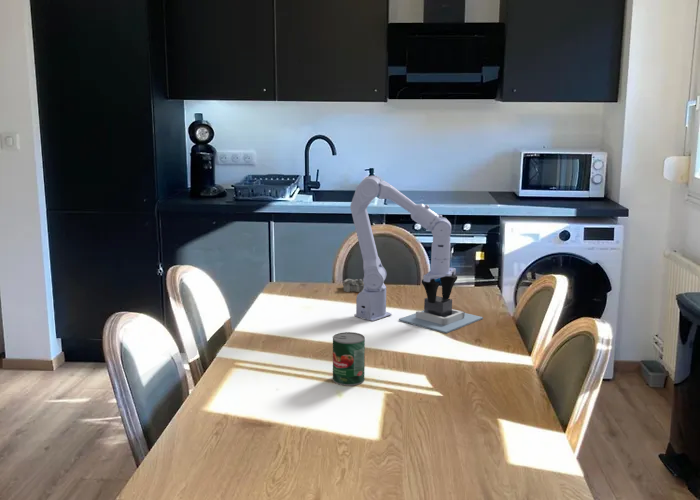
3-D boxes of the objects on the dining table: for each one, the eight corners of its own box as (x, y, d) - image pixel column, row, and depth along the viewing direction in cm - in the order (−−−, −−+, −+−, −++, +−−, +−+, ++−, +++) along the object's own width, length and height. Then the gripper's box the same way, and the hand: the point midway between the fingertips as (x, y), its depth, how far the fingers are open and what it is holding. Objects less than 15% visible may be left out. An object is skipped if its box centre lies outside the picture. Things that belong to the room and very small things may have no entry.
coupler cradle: (446, 333, 213) (446, 325, 213) (398, 320, 225) (398, 312, 224) (482, 318, 228) (483, 311, 227) (436, 307, 239) (436, 300, 239)
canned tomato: (368, 375, 181) (368, 333, 178) (359, 387, 173) (360, 343, 171) (337, 372, 183) (337, 330, 180) (328, 383, 175) (328, 340, 173)
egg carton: (342, 292, 258) (342, 281, 257) (343, 287, 265) (343, 276, 264) (372, 293, 257) (372, 281, 256) (372, 287, 265) (372, 276, 264)
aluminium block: (442, 321, 223) (443, 302, 222) (423, 316, 228) (424, 298, 226) (451, 317, 227) (452, 299, 225) (433, 313, 231) (433, 295, 230)
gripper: (437, 263, 215) (435, 307, 218) (464, 256, 226) (462, 298, 228) (418, 259, 220) (416, 302, 222) (446, 252, 230) (444, 293, 233)
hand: (438, 300), depth 226 cm, fingers open, 7 cm apart
